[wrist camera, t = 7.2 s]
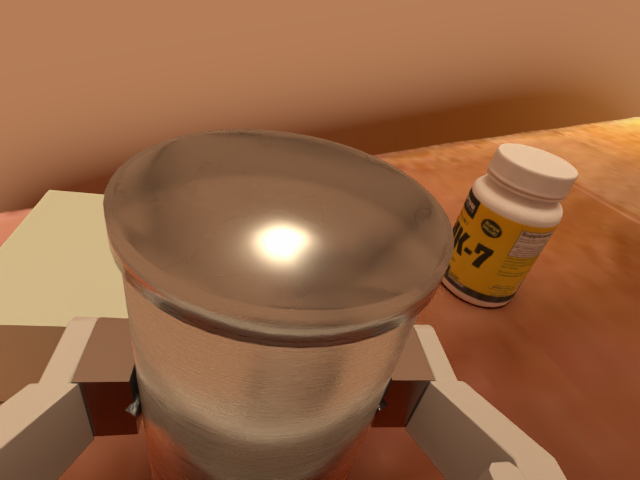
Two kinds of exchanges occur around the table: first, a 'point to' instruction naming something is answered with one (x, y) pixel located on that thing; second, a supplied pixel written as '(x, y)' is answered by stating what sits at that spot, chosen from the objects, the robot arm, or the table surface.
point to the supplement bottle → (507, 223)
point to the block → (53, 282)
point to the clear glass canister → (268, 297)
